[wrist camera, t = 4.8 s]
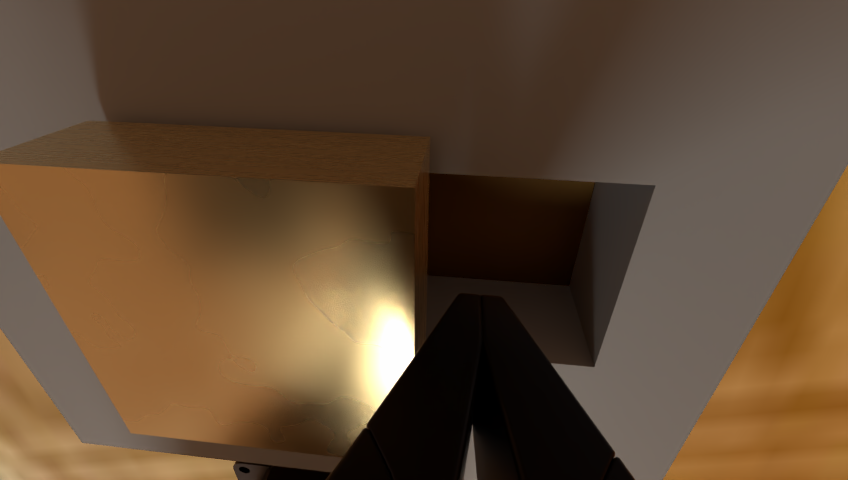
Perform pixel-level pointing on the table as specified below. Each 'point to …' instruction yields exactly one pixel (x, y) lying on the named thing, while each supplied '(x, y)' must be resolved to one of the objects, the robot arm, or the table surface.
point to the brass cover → (231, 272)
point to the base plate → (487, 162)
